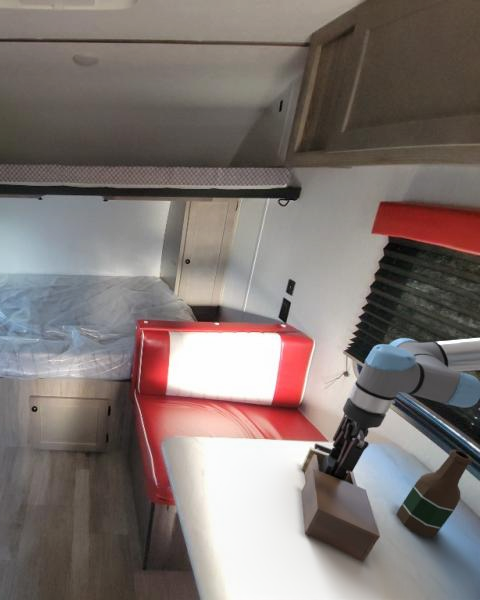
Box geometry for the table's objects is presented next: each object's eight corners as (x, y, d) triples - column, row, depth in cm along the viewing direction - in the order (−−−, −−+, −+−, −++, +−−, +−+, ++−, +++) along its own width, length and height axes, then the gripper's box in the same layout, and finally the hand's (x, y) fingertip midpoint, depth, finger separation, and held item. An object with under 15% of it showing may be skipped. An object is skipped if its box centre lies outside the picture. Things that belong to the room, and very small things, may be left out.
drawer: (300, 456, 102) (308, 436, 99) (339, 471, 98) (350, 451, 95) (304, 499, 88) (314, 477, 85) (351, 519, 84) (363, 498, 81)
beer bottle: (397, 527, 84) (444, 456, 75) (391, 505, 90) (435, 436, 81) (439, 548, 80) (494, 475, 71) (430, 523, 86) (480, 452, 77)
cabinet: (300, 493, 90) (312, 468, 87) (350, 515, 86) (365, 489, 82) (303, 536, 79) (317, 508, 76) (362, 564, 75) (380, 536, 71)
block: (339, 473, 90) (345, 461, 89) (341, 485, 87) (348, 473, 85) (320, 466, 92) (326, 454, 91) (322, 477, 89) (328, 465, 87)
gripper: (397, 433, 72) (354, 508, 81) (377, 392, 86) (342, 459, 95) (355, 419, 75) (318, 492, 84) (342, 382, 90) (311, 448, 98)
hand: (331, 475), depth 89 cm, fingers closed on block, 4 cm apart
